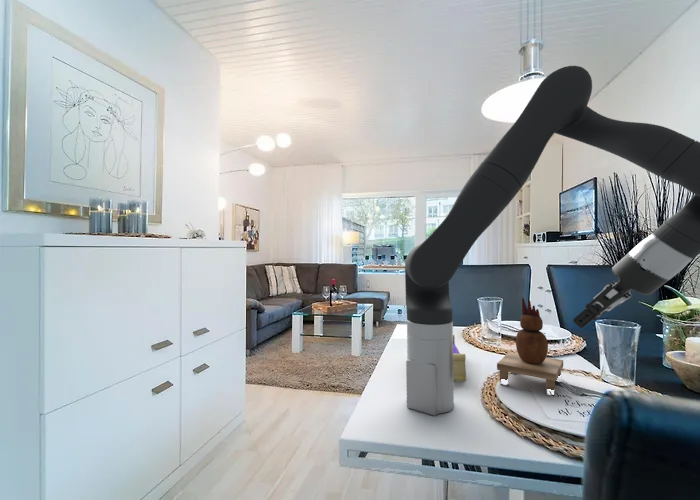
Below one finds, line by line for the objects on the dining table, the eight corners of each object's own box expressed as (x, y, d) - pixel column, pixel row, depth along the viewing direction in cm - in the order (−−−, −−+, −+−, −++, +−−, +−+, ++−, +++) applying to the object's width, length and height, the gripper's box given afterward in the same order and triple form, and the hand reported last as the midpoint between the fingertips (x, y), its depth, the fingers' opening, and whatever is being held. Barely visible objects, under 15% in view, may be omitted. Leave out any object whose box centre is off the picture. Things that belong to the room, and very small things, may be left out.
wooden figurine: (511, 359, 84) (510, 297, 84) (529, 356, 86) (528, 296, 86) (533, 367, 77) (532, 301, 78) (553, 364, 79) (552, 300, 79)
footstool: (556, 397, 73) (555, 374, 73) (497, 384, 81) (496, 363, 81) (563, 380, 83) (563, 360, 83) (510, 370, 90) (509, 351, 90)
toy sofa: (467, 383, 82) (466, 340, 83) (430, 381, 84) (429, 339, 84) (454, 357, 103) (454, 322, 103) (425, 355, 105) (425, 322, 105)
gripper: (638, 249, 70) (579, 302, 79) (621, 252, 61) (556, 312, 69) (676, 274, 66) (609, 327, 74) (664, 282, 57) (589, 342, 65)
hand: (583, 320), depth 72 cm, fingers open, 8 cm apart
